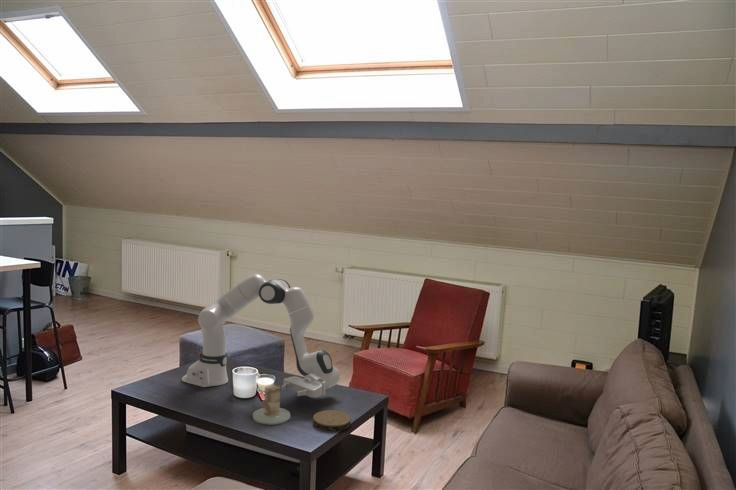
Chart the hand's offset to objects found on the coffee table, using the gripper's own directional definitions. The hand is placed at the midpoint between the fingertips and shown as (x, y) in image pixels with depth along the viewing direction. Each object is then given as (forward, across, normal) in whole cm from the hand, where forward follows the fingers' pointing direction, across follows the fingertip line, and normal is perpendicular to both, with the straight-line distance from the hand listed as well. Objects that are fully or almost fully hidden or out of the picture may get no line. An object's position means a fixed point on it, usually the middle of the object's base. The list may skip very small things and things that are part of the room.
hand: (289, 391), depth 263 cm
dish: (+10, 0, +9) cm, 14 cm away
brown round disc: (-4, +22, +10) cm, 24 cm away
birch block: (+10, 0, +8) cm, 13 cm away
